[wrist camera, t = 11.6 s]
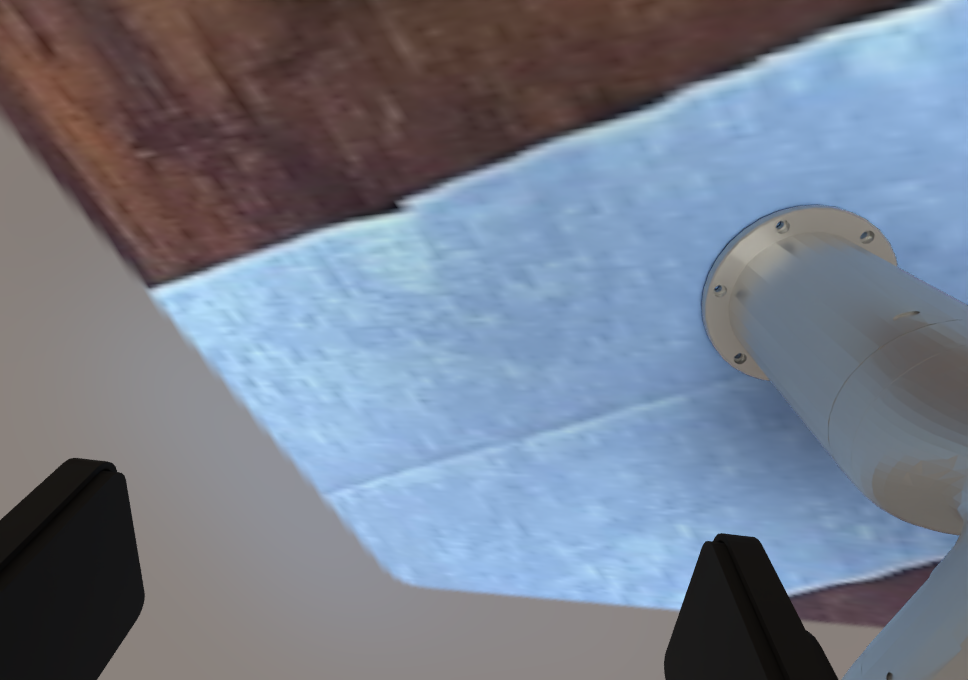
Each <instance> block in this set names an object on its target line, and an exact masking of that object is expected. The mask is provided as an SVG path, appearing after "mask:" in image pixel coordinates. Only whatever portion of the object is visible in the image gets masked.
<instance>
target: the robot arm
mask: <svg viewBox="0 0 968 680" xmlns="http://www.w3.org/2000/svg"><path fill="white" fill-rule="evenodd" d="M780 221H781V224H780V226H778V227H776V225H777V224H778V223H779V222H780ZM862 233H863V235H862ZM861 235H862V236H861ZM860 236H861V237H860ZM718 285H720V287H719V289H717V290H714V289H715V287H717V286H718ZM702 316H703V323H704V326H705V329H706V332H707V335H708V337H709V339H710V341H711V342H712V344H713V346H714V347H715V349H716V350H717V351H718V353H719V354H720V355H721V356H722V358H723V359H724V360H725V361H726V362H728V363H729V364H730V365H731V366H732V367H734V368H735V369H737V370H739V371H741V372H742V373H744V374H746V375H748V376H751V377H755V378H758V379H761V380H766V381H771V382H772V384H773V385H774V386H775V387H776V389H777V390H778V391H779V392H780V394H781V395H782V396H783V397H784V399H785V400H786V401H787V402H788V404H789V405H790V406H791V407H792V409H793V410H794V411H795V412H796V414H797V415H798V416H799V417H800V419H801V420H802V421H803V423H804V424H805V425H806V426H807V428H808V429H809V430H810V431H811V433H812V434H813V435H814V436H815V438H816V439H817V440H818V441H819V443H820V444H821V445H822V446H823V448H824V449H825V450H826V451H827V453H828V454H829V455H830V456H831V458H832V459H833V460H834V461H835V463H836V464H837V465H838V466H839V468H840V469H841V470H842V471H843V472H844V473H845V475H846V476H847V477H848V478H849V480H850V481H851V482H852V483H853V484H854V486H855V487H856V488H857V489H858V490H859V491H860V492H861V493H862V494H863V495H864V496H865V497H866V498H868V499H869V500H870V501H871V502H873V503H874V504H875V505H876V506H878V507H879V508H881V509H882V510H884V511H885V512H887V513H889V514H891V515H893V516H895V517H897V518H899V519H901V520H903V521H905V522H908V523H911V524H913V525H917V526H920V527H923V528H927V529H930V530H934V531H938V532H943V533H948V534H954V535H960V536H959V538H958V540H957V542H956V544H955V545H954V546H953V548H952V549H951V550H950V551H949V553H948V554H947V555H946V556H945V557H944V559H943V560H942V561H941V562H940V563H939V565H938V566H937V567H936V568H935V569H934V570H933V571H932V573H931V575H930V577H929V579H928V580H927V581H926V582H925V583H924V584H923V585H922V586H921V588H920V589H919V590H918V591H917V592H916V593H915V594H914V595H913V596H912V598H911V599H910V600H909V601H908V602H907V603H906V604H905V605H904V606H903V608H902V609H901V610H900V611H899V612H898V613H897V614H896V615H895V616H894V618H893V619H892V620H891V621H890V622H889V623H888V624H887V625H886V626H885V628H884V629H883V630H882V631H881V632H880V633H879V634H878V635H877V636H876V638H875V639H874V640H873V641H872V642H871V643H870V644H869V645H868V646H867V648H866V650H865V651H864V652H863V653H862V654H861V656H860V657H859V658H858V659H857V660H856V661H855V663H854V664H853V665H852V666H851V668H850V669H849V670H848V672H847V673H846V674H845V675H844V677H843V678H842V680H968V305H966V304H965V303H963V302H961V301H959V300H957V299H955V298H954V297H952V296H950V295H948V294H946V293H944V292H943V291H941V290H939V289H937V288H935V287H933V286H932V285H930V284H928V283H926V282H924V281H922V280H921V279H919V278H917V277H915V276H913V275H911V274H910V273H908V272H906V271H904V270H902V269H900V268H899V267H898V266H897V260H896V256H895V254H894V252H893V249H892V247H891V245H890V243H889V241H888V240H887V239H886V237H885V236H884V235H883V234H882V232H881V231H880V230H879V229H878V228H877V227H875V226H874V225H873V224H872V223H870V222H869V221H868V220H866V219H864V218H862V217H860V216H858V215H856V214H854V213H852V212H849V211H846V210H844V209H841V208H838V207H832V206H824V205H805V206H796V207H792V208H788V209H784V210H780V211H777V212H775V213H773V214H771V215H768V216H766V217H764V218H761V219H760V220H758V221H757V222H755V223H753V224H752V225H750V226H749V227H747V228H746V229H744V230H743V231H742V232H741V233H740V234H739V235H737V236H736V237H735V238H734V239H733V240H732V241H731V242H730V243H729V244H728V245H727V246H726V248H725V249H724V250H723V251H722V253H721V254H720V255H719V256H718V258H717V260H716V261H715V263H714V265H713V267H712V269H711V270H710V272H709V275H708V278H707V281H706V284H705V287H704V291H703V299H702ZM737 354H738V355H737ZM736 355H737V356H736ZM144 597H145V594H144V587H143V581H142V575H141V569H140V563H139V557H138V551H137V544H136V538H135V533H134V527H133V521H132V514H131V508H130V502H129V496H128V490H127V484H126V479H125V476H124V475H123V474H122V473H119V472H117V470H116V467H115V466H114V464H113V463H110V462H106V461H97V460H89V459H80V458H72V459H68V460H67V461H66V462H64V463H63V464H62V465H61V466H60V467H58V469H56V470H55V471H54V472H53V473H52V474H51V475H50V476H48V477H47V478H46V479H45V480H44V481H43V482H42V483H41V484H40V485H39V486H37V487H36V488H35V489H34V490H33V491H32V492H31V493H30V494H29V495H28V496H27V497H25V498H24V499H23V500H22V501H21V502H20V503H19V504H18V505H17V506H15V507H14V508H13V509H12V510H11V511H10V512H9V513H8V514H7V515H6V516H4V517H3V518H2V519H1V520H0V680H97V679H98V677H99V676H100V674H101V673H102V671H103V670H104V668H105V667H106V665H107V664H108V662H109V661H110V659H111V658H112V656H113V655H114V653H115V652H116V650H117V649H118V647H119V646H120V644H121V643H122V641H123V640H124V638H125V637H126V635H127V634H128V632H129V630H130V629H131V628H132V626H133V625H134V623H135V621H136V620H137V618H138V616H139V615H140V612H141V610H142V607H143V604H144ZM664 670H665V678H666V680H838V678H837V676H836V674H835V672H834V670H833V668H832V666H831V665H830V663H829V661H828V659H827V657H826V655H825V653H824V651H823V649H822V647H821V646H820V644H819V643H818V641H817V640H816V638H815V637H814V636H813V635H812V634H810V633H809V632H808V631H806V630H805V628H804V626H803V624H802V622H801V620H800V618H799V616H798V614H797V612H796V610H795V608H794V606H793V604H792V603H791V601H790V599H789V597H788V595H787V593H786V591H785V589H784V587H783V585H782V583H781V581H780V579H779V577H778V575H777V573H776V571H775V569H774V567H773V566H772V564H771V562H770V560H769V558H768V556H767V554H766V552H765V550H764V548H763V546H762V544H761V543H760V541H759V540H758V539H756V538H755V537H748V536H739V535H731V534H722V533H721V534H718V535H717V536H716V537H715V539H714V541H713V542H711V541H706V542H705V543H704V544H703V546H702V549H701V552H700V555H699V558H698V561H697V563H696V566H695V569H694V572H693V575H692V578H691V581H690V584H689V587H688V590H687V592H686V595H685V598H684V601H683V604H682V607H681V610H680V613H679V616H678V619H677V621H676V624H675V627H674V630H673V633H672V636H671V639H670V642H669V645H668V648H667V650H666V654H665V661H664Z"/></svg>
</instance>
